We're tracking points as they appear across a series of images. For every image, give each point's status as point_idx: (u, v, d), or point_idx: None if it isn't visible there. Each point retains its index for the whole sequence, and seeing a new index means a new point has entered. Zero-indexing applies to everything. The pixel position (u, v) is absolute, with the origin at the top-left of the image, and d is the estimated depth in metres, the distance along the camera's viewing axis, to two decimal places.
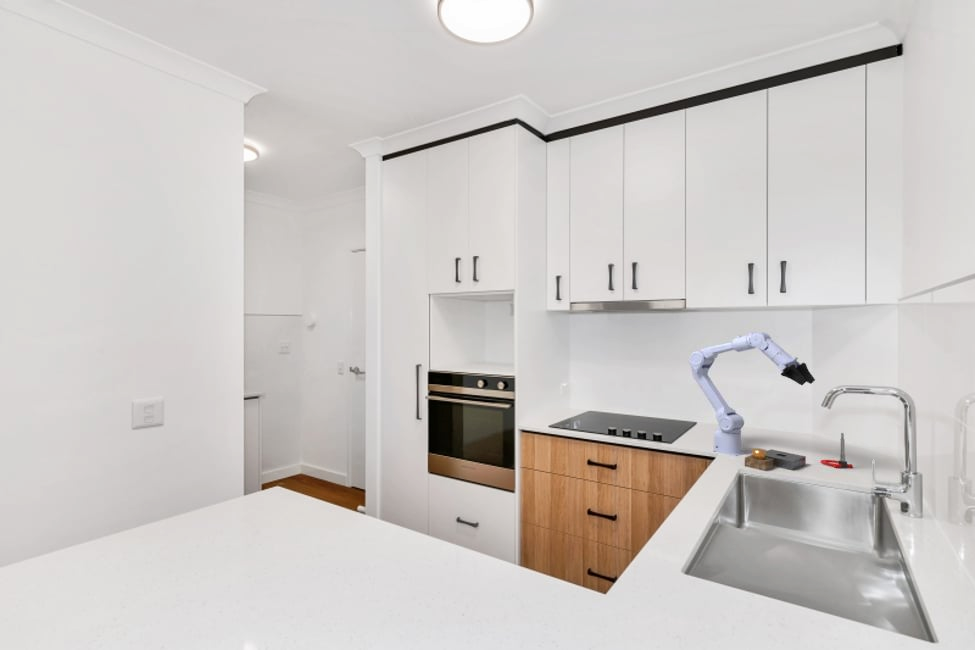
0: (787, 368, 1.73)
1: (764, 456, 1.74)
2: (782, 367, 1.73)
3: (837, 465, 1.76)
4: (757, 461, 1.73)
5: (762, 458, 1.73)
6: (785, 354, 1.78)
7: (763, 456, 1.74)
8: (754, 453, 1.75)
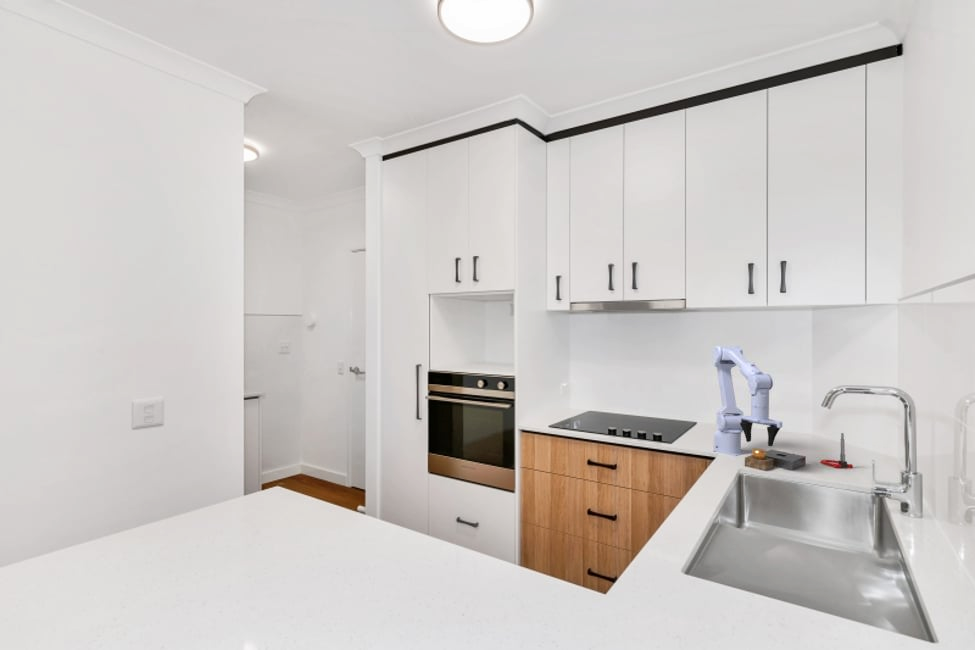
0: None
1: (764, 456, 1.74)
2: None
3: (837, 465, 1.76)
4: (757, 461, 1.73)
5: (762, 458, 1.73)
6: (753, 411, 1.75)
7: (763, 456, 1.74)
8: (754, 453, 1.75)
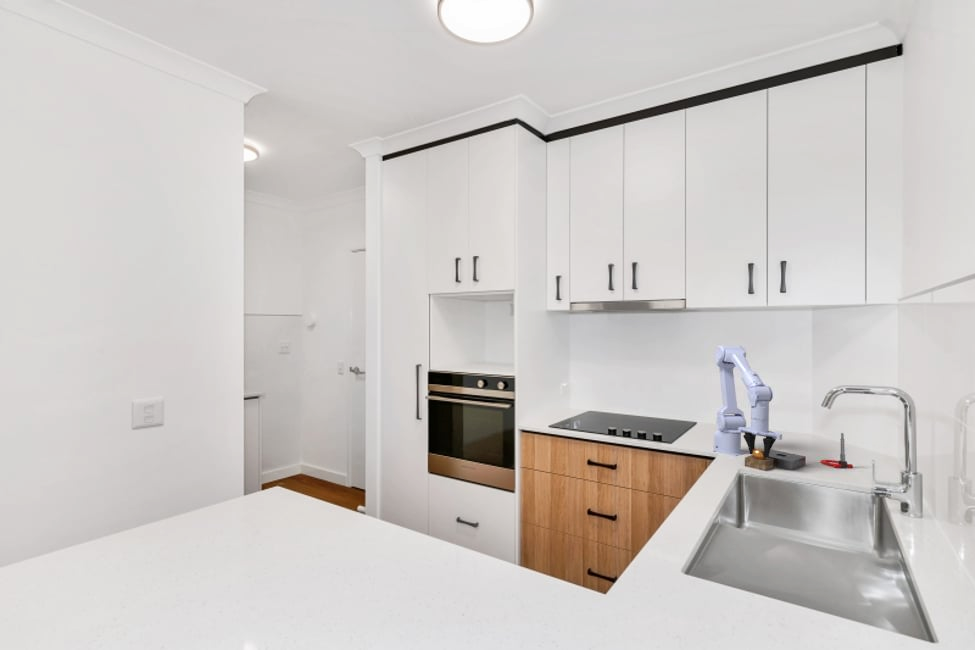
0: None
1: None
2: None
3: (837, 465, 1.76)
4: (757, 461, 1.73)
5: (762, 458, 1.73)
6: (753, 423, 1.75)
7: (763, 456, 1.74)
8: (754, 453, 1.75)
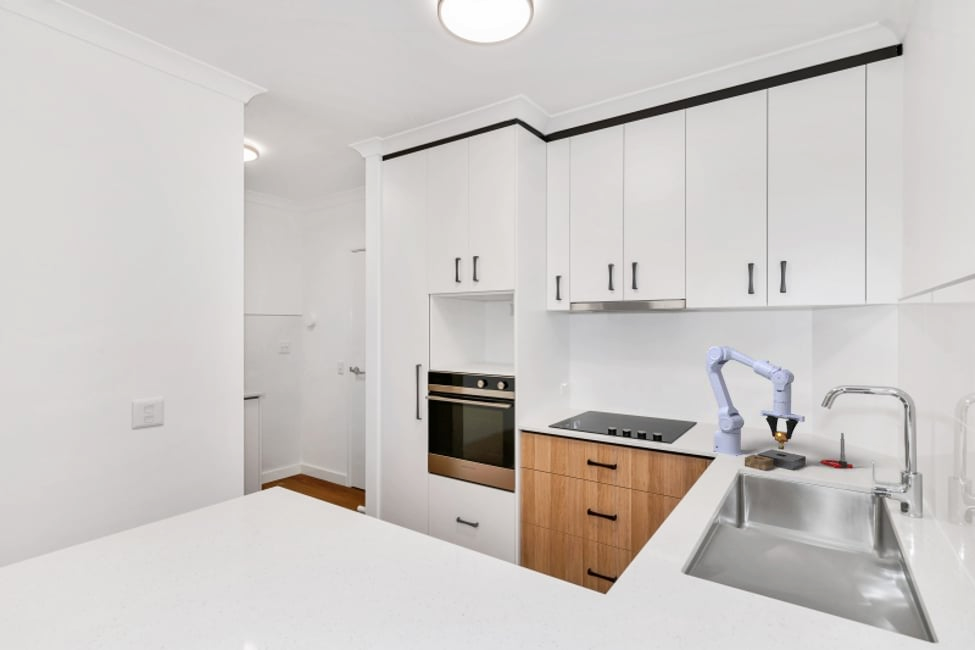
0: None
1: (786, 438, 1.78)
2: None
3: (837, 465, 1.76)
4: (757, 461, 1.73)
5: (784, 440, 1.78)
6: (775, 406, 1.79)
7: (786, 438, 1.78)
8: (776, 435, 1.79)
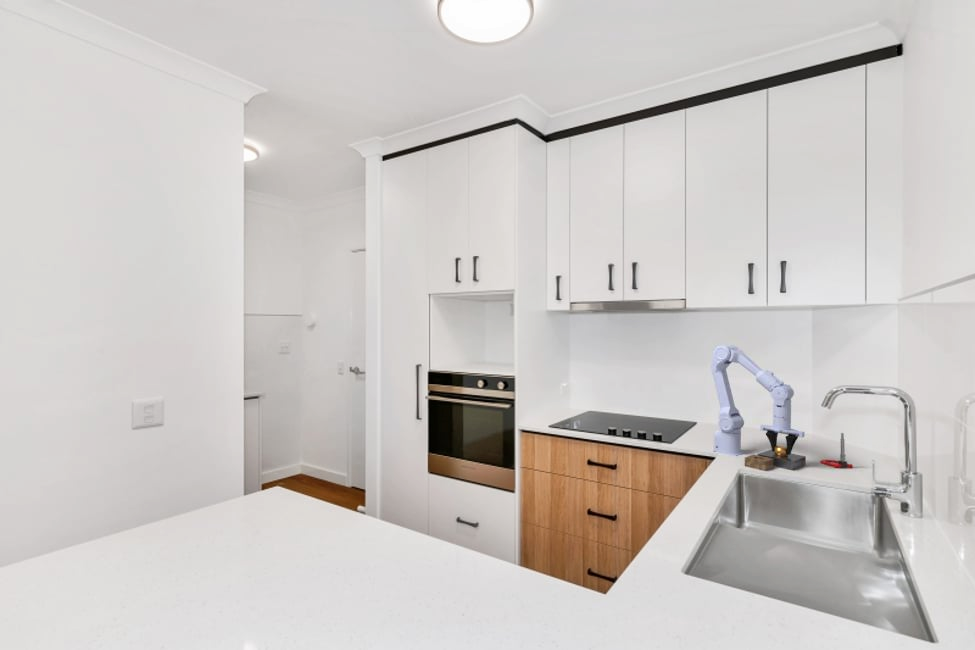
0: None
1: (786, 453, 1.78)
2: None
3: (837, 465, 1.76)
4: (757, 461, 1.73)
5: (784, 455, 1.78)
6: (775, 421, 1.80)
7: (785, 453, 1.78)
8: (776, 450, 1.79)
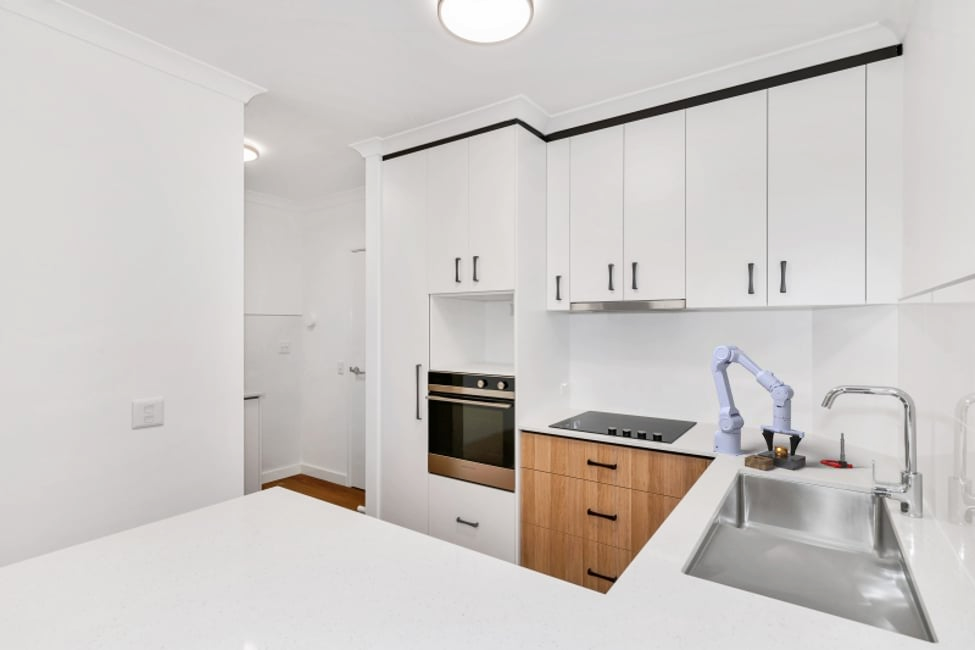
0: None
1: (786, 453, 1.78)
2: None
3: (837, 465, 1.76)
4: (757, 461, 1.73)
5: (784, 455, 1.78)
6: (775, 421, 1.80)
7: (785, 453, 1.78)
8: (776, 450, 1.79)
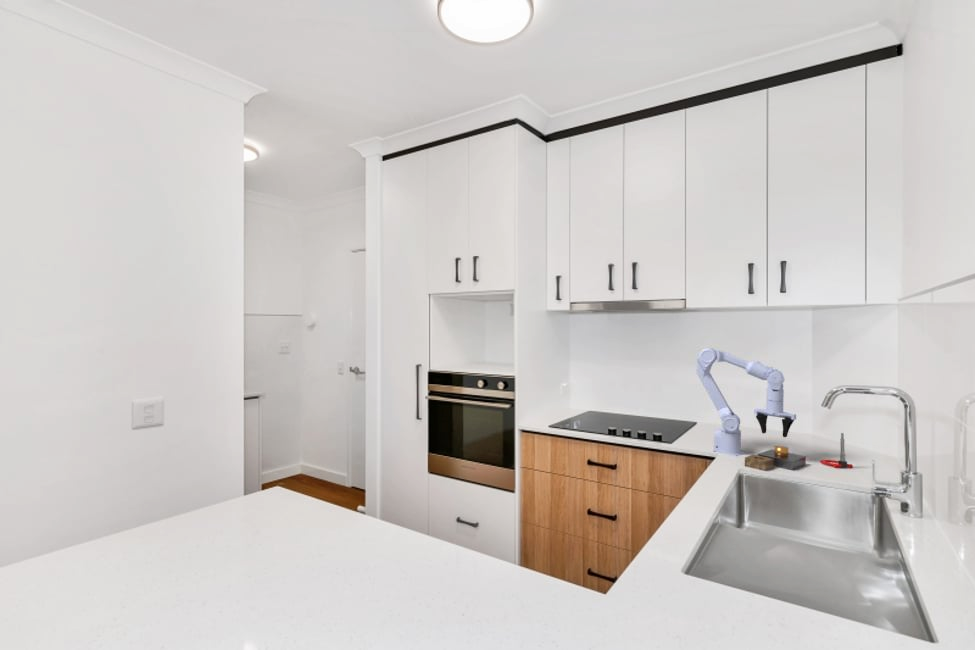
0: None
1: (786, 453, 1.78)
2: None
3: (837, 465, 1.76)
4: (757, 461, 1.73)
5: (784, 455, 1.78)
6: (768, 404, 1.87)
7: (785, 453, 1.78)
8: (776, 450, 1.79)
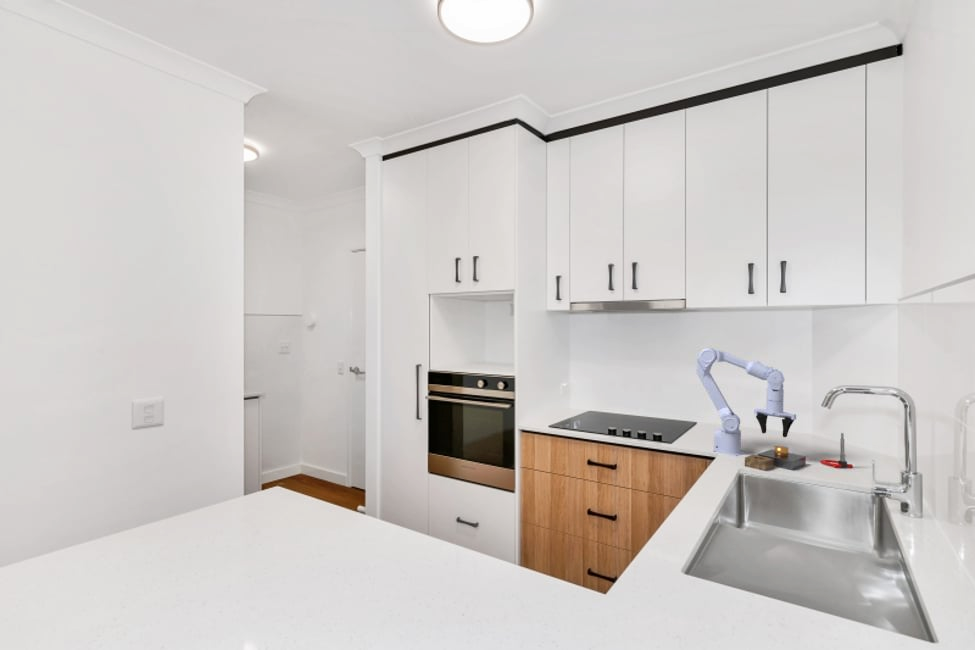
0: None
1: (786, 453, 1.78)
2: None
3: (837, 465, 1.76)
4: (757, 461, 1.73)
5: (784, 455, 1.78)
6: (768, 404, 1.87)
7: (785, 453, 1.78)
8: (776, 450, 1.79)
